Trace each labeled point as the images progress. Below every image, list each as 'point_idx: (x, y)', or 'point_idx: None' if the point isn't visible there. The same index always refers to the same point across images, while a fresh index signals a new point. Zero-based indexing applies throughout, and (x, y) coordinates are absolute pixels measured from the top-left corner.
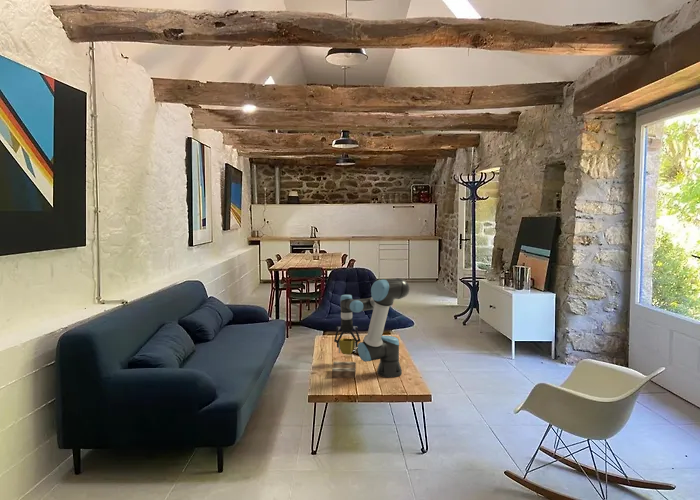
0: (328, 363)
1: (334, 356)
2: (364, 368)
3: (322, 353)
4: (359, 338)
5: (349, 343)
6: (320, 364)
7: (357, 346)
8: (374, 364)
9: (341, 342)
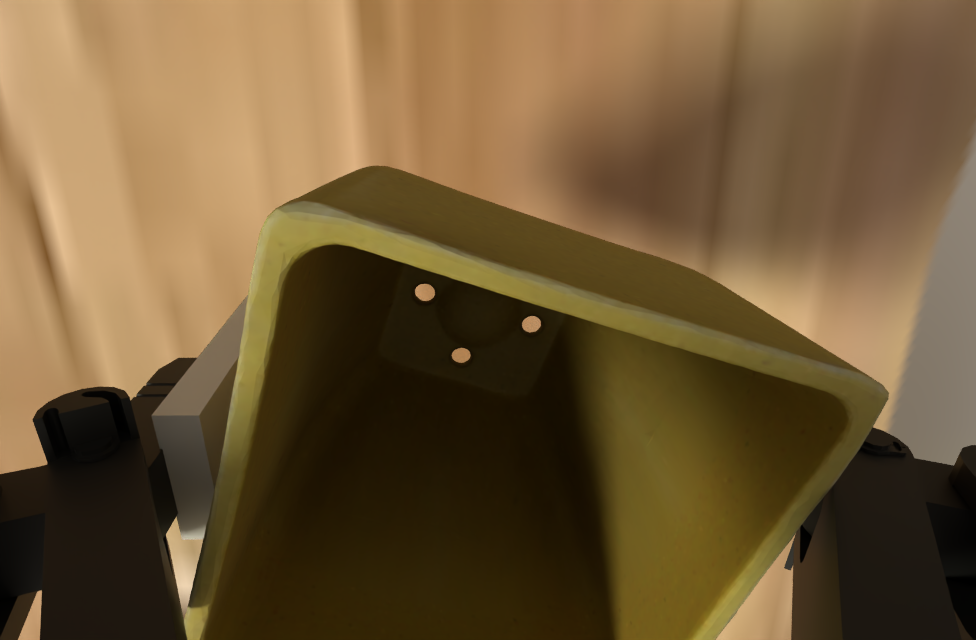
0: (765, 299)
1: None
2: (156, 17)
3: None
4: None
5: (386, 207)
6: (894, 252)
7: (163, 371)
8: (27, 246)
9: (754, 326)
